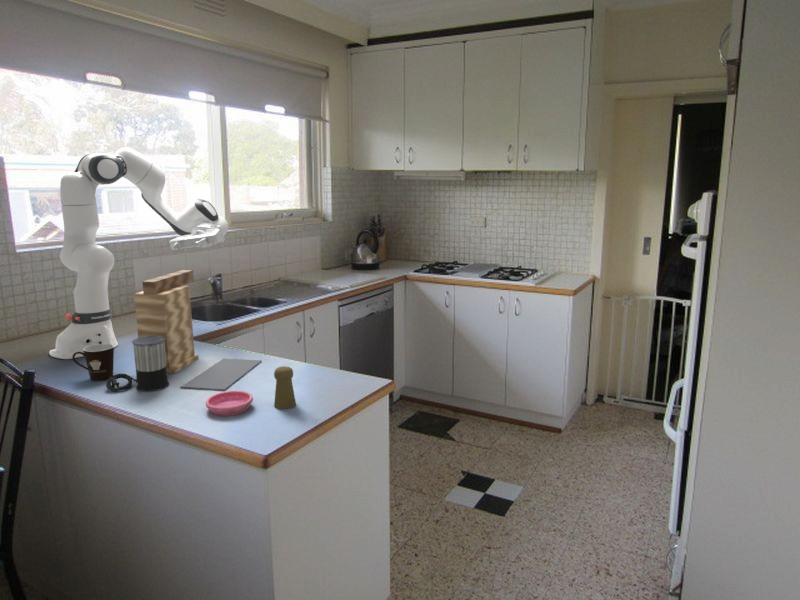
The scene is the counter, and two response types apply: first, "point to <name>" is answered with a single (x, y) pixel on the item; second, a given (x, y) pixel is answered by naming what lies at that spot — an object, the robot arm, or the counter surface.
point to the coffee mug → (98, 361)
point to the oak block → (168, 324)
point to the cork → (284, 388)
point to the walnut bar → (167, 282)
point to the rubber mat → (221, 374)
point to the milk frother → (145, 366)
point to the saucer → (229, 402)
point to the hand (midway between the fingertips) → (186, 246)
